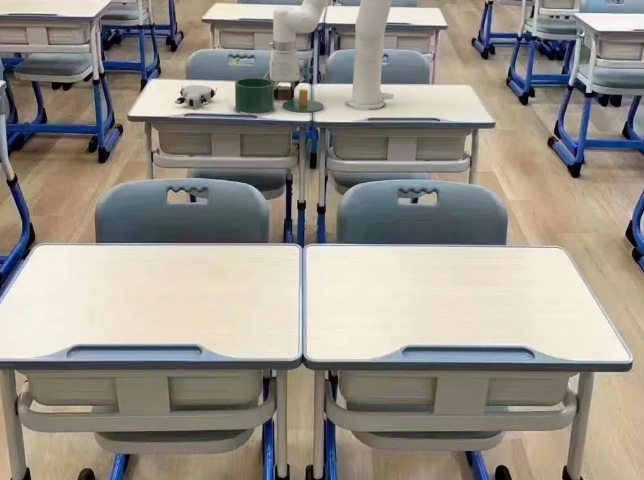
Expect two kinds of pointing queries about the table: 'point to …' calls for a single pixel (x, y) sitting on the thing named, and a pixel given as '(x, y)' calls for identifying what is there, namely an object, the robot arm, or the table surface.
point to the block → (284, 93)
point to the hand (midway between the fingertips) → (283, 99)
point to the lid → (303, 104)
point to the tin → (254, 95)
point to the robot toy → (196, 95)
